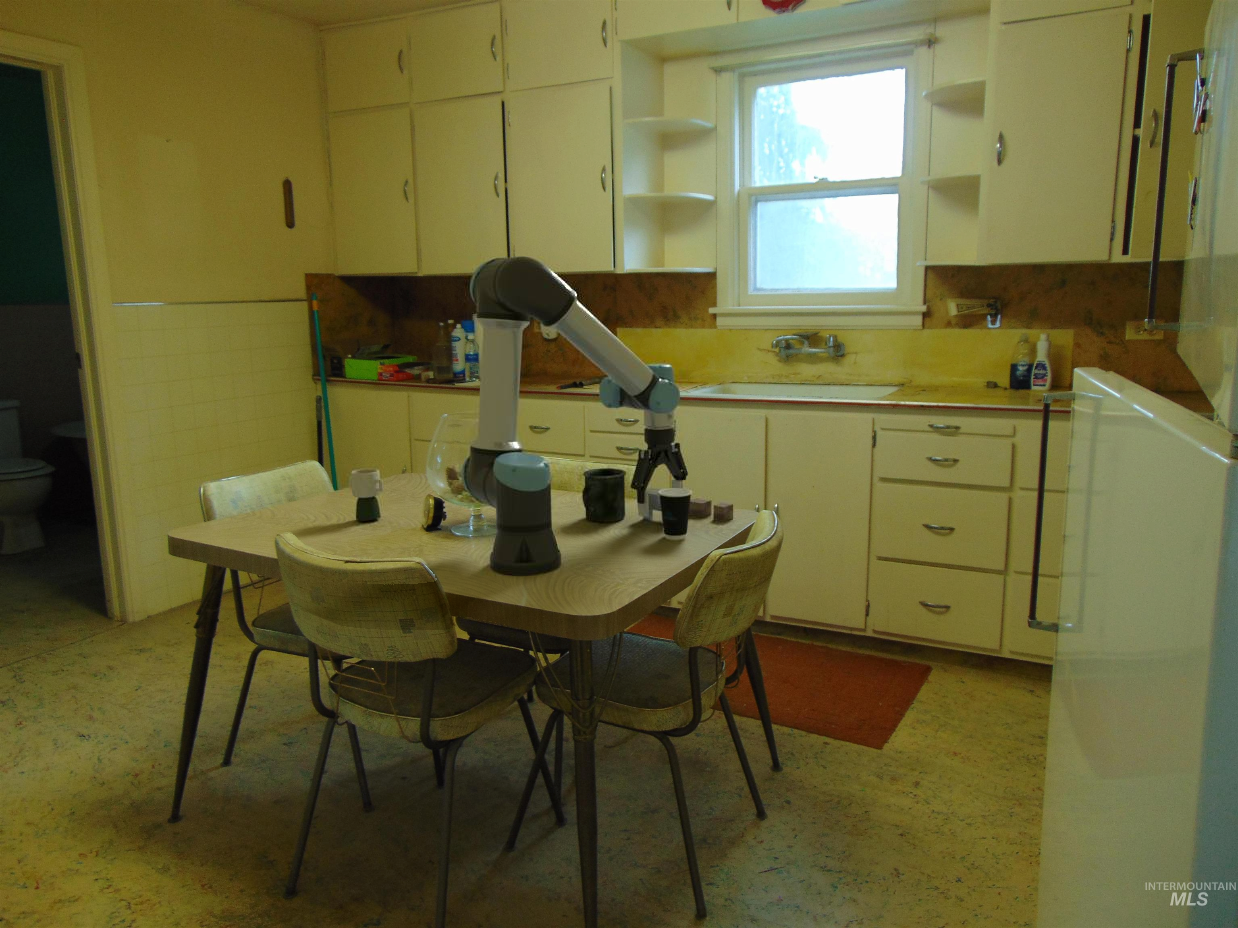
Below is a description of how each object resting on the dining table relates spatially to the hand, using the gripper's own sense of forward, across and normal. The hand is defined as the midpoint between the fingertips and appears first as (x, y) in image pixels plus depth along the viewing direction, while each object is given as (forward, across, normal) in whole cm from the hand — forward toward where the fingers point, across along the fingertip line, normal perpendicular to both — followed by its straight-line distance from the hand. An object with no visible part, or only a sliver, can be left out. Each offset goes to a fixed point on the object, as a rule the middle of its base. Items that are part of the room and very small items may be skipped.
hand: (660, 510), depth 225 cm
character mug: (+2, -45, +61) cm, 76 cm away
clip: (+3, 0, 0) cm, 3 cm away
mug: (+3, -8, +13) cm, 15 cm away
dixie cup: (+3, -10, -12) cm, 16 cm away
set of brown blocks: (+3, +11, -4) cm, 12 cm away
